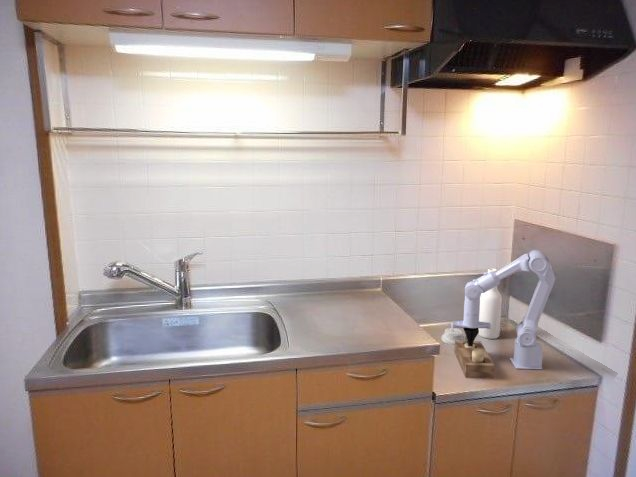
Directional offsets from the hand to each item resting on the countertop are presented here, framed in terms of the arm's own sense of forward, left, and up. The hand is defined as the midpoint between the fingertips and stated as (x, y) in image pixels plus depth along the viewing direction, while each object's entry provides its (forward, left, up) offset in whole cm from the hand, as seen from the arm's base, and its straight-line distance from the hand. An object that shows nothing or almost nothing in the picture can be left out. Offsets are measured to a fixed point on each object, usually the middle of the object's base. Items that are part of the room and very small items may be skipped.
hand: (469, 345), depth 179 cm
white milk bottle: (-13, -21, -5) cm, 25 cm away
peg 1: (0, 0, -5) cm, 5 cm away
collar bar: (0, +6, -5) cm, 8 cm away
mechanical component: (+3, -16, -6) cm, 17 cm away
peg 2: (0, +12, -2) cm, 12 cm away
